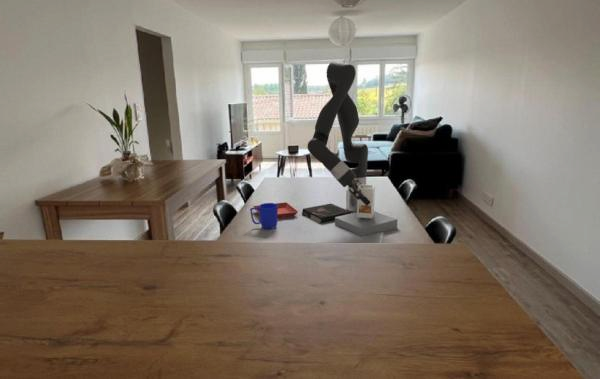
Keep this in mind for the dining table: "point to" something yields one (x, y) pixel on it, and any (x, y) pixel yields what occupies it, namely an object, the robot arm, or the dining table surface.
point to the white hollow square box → (369, 194)
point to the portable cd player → (324, 213)
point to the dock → (366, 223)
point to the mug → (267, 215)
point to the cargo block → (365, 209)
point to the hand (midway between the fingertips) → (369, 201)
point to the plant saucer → (283, 210)
